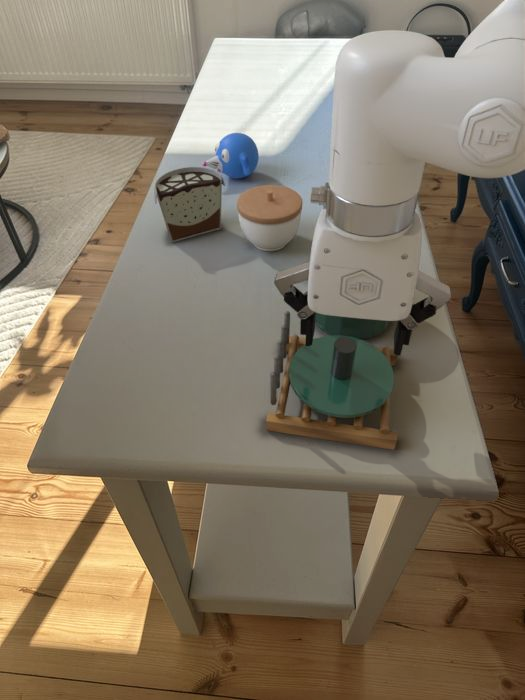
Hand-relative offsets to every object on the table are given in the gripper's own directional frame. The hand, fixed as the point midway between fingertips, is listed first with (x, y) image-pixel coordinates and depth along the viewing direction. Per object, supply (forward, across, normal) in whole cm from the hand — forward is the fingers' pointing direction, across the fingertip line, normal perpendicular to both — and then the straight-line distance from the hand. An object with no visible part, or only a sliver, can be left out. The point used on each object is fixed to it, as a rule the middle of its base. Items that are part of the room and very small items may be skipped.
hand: (352, 341), depth 54 cm
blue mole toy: (+9, -28, +53) cm, 60 cm away
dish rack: (+10, -2, 0) cm, 10 cm away
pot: (+10, 0, +16) cm, 18 cm away
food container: (+9, -30, +34) cm, 46 cm away
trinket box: (+9, -16, +32) cm, 36 cm away
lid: (+6, -1, 0) cm, 6 cm away
